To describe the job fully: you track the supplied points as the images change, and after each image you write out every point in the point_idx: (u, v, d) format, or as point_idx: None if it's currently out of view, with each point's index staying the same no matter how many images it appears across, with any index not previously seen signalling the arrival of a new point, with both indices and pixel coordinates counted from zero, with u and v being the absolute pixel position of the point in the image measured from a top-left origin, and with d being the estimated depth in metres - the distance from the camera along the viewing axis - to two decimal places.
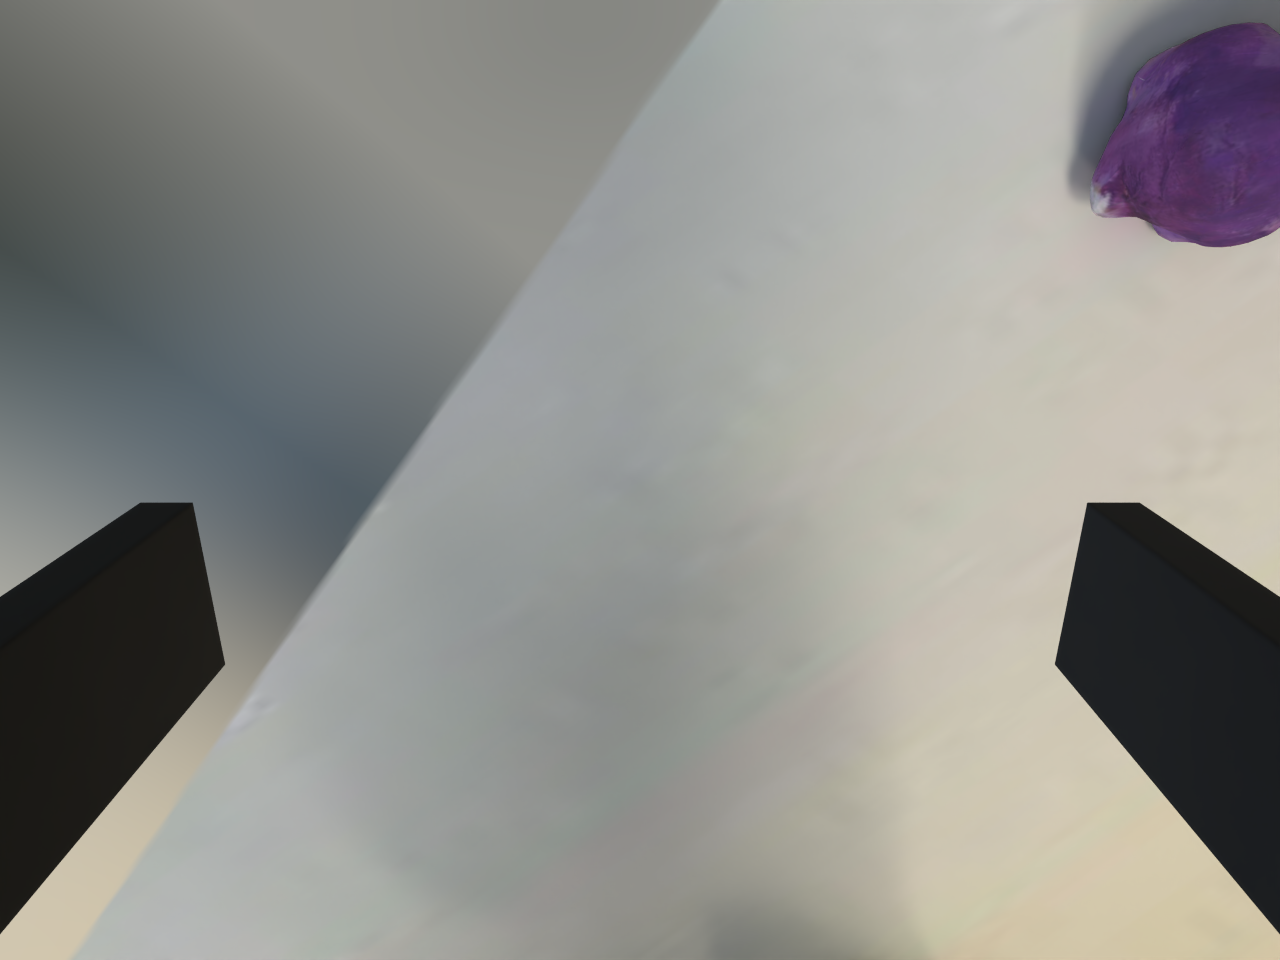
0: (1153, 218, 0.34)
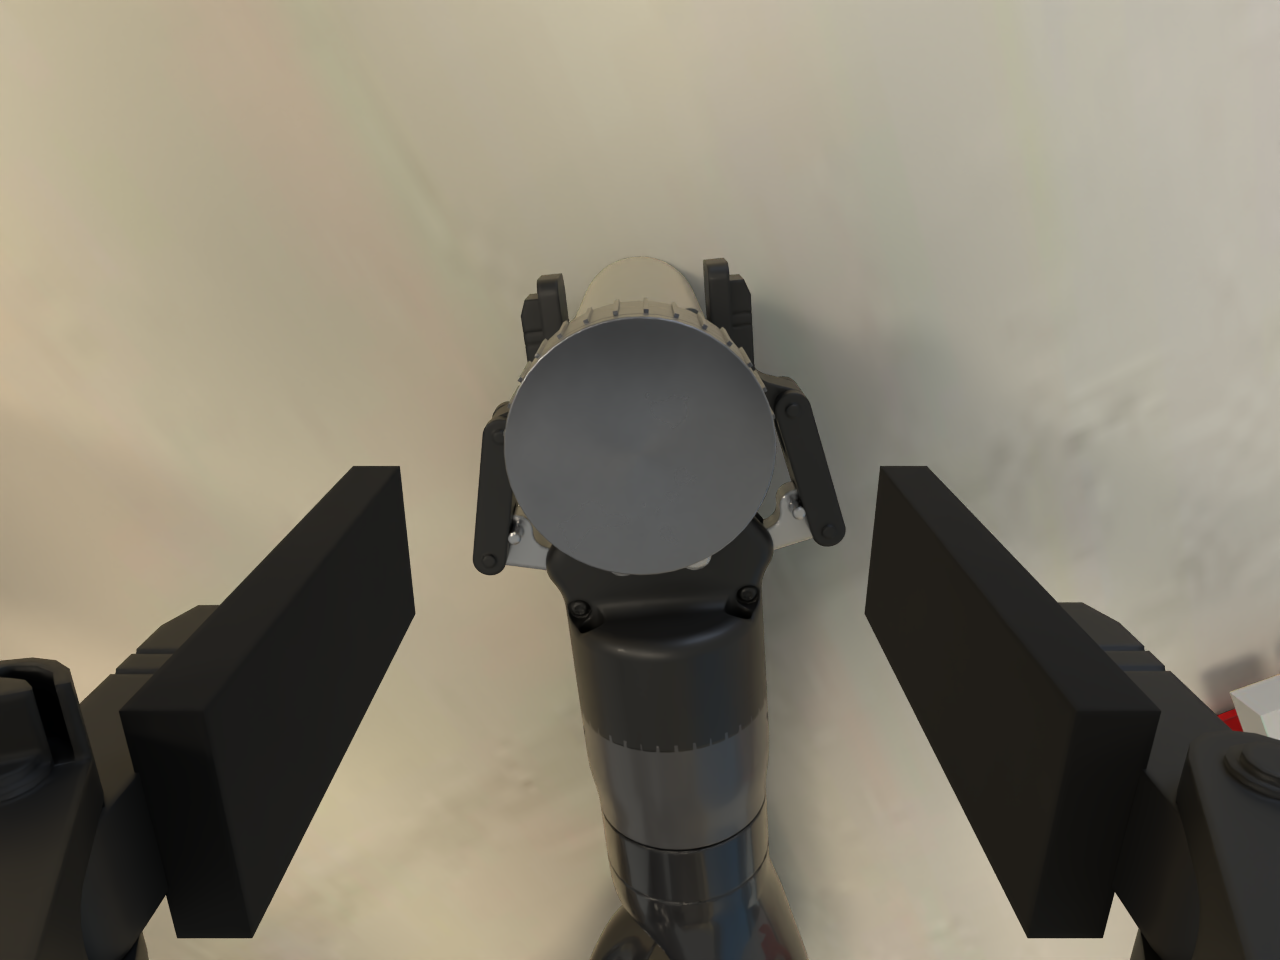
0: None
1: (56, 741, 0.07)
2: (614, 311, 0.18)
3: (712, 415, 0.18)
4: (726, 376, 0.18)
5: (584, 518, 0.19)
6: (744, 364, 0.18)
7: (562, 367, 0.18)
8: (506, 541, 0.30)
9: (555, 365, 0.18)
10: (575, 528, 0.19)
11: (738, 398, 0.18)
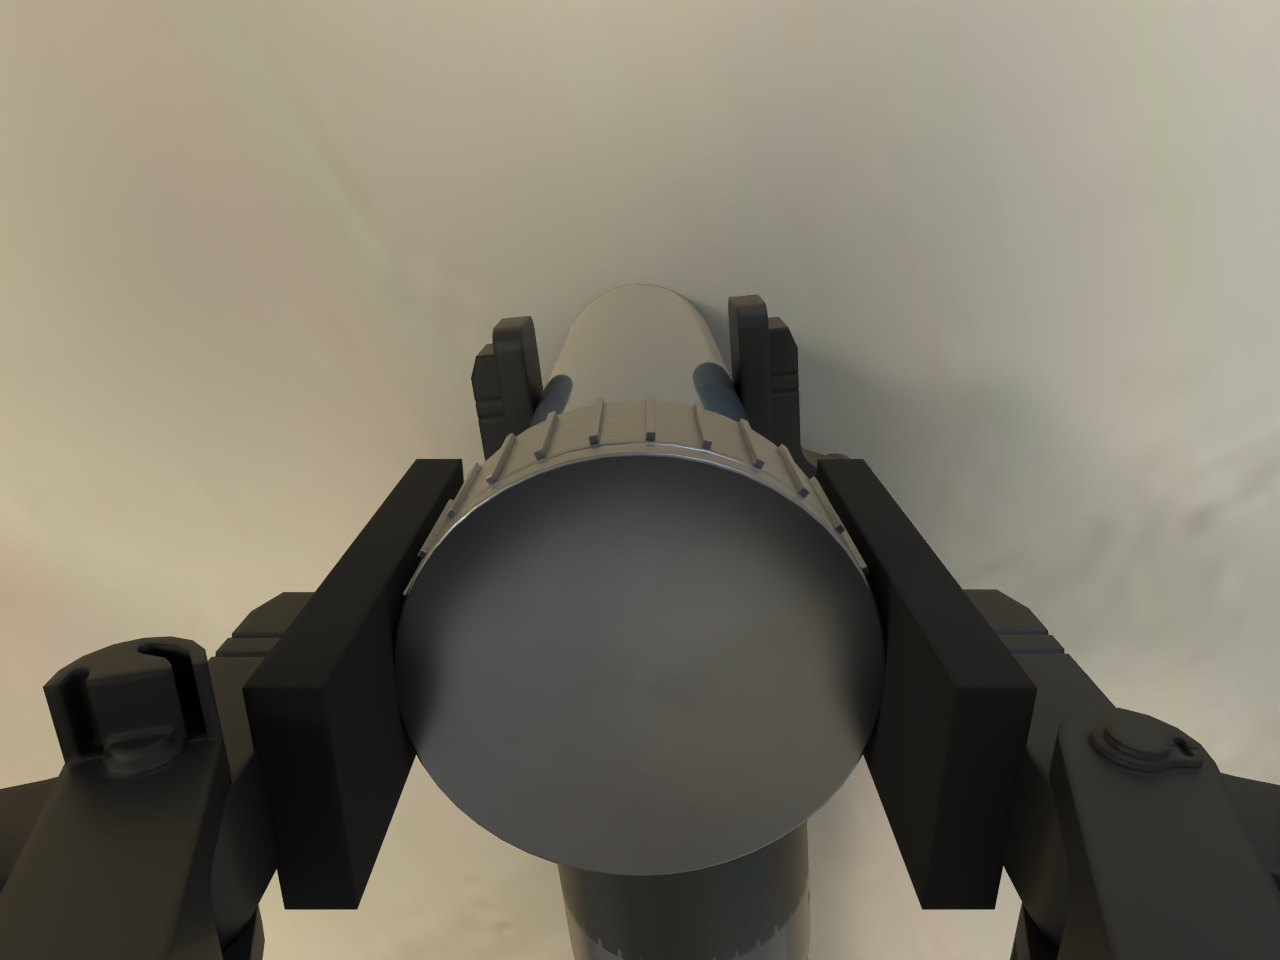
0: None
1: (189, 717, 0.08)
2: (591, 436, 0.10)
3: (772, 623, 0.10)
4: (800, 557, 0.10)
5: (541, 789, 0.11)
6: (834, 536, 0.09)
7: (494, 542, 0.09)
8: None
9: (481, 538, 0.09)
10: (525, 805, 0.11)
11: (821, 595, 0.10)
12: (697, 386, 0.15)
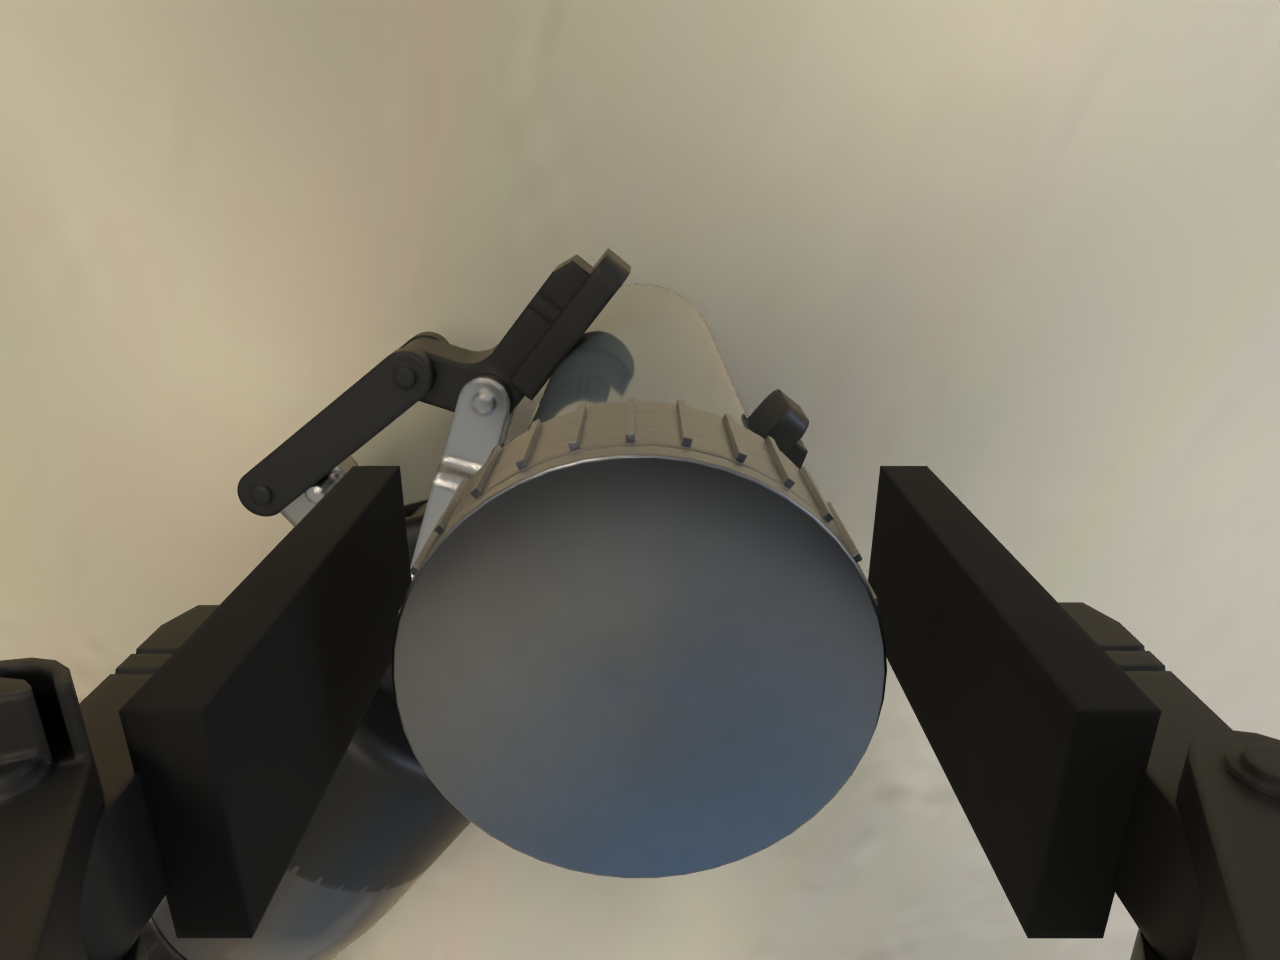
0: None
1: (56, 741, 0.07)
2: (436, 528, 0.10)
3: (691, 562, 0.10)
4: (659, 495, 0.09)
5: (646, 819, 0.11)
6: (669, 457, 0.09)
7: (429, 664, 0.10)
8: (303, 491, 0.20)
9: (418, 668, 0.10)
10: (646, 839, 0.11)
11: (706, 510, 0.09)
12: None
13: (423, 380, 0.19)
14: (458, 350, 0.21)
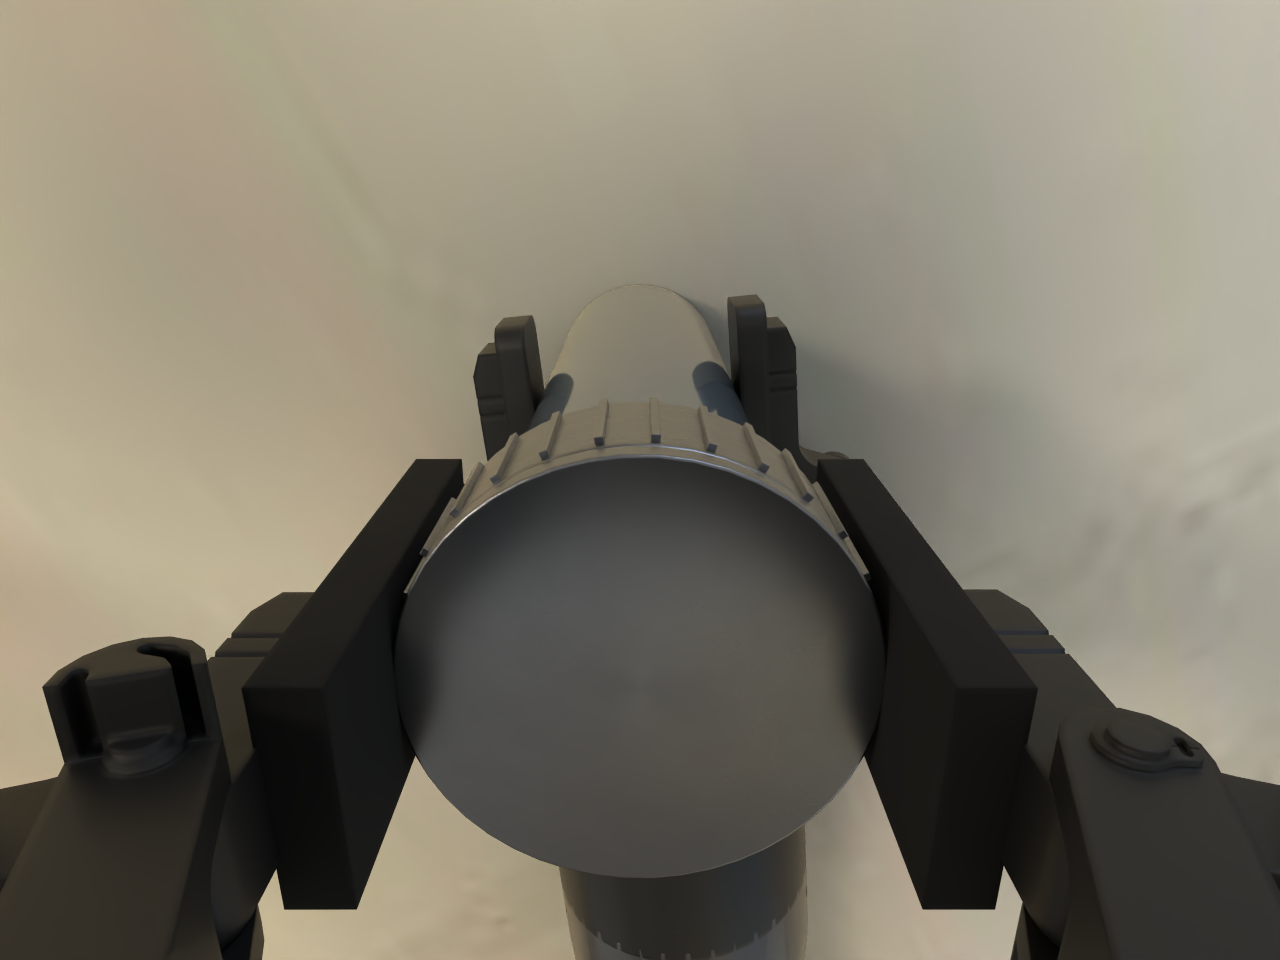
0: None
1: (188, 718, 0.08)
2: None
3: (574, 567, 0.10)
4: (499, 541, 0.09)
5: (754, 780, 0.11)
6: (476, 509, 0.09)
7: (479, 788, 0.11)
8: None
9: (476, 798, 0.11)
10: (771, 795, 0.11)
11: (542, 522, 0.09)
12: (696, 384, 0.15)
13: None
14: None
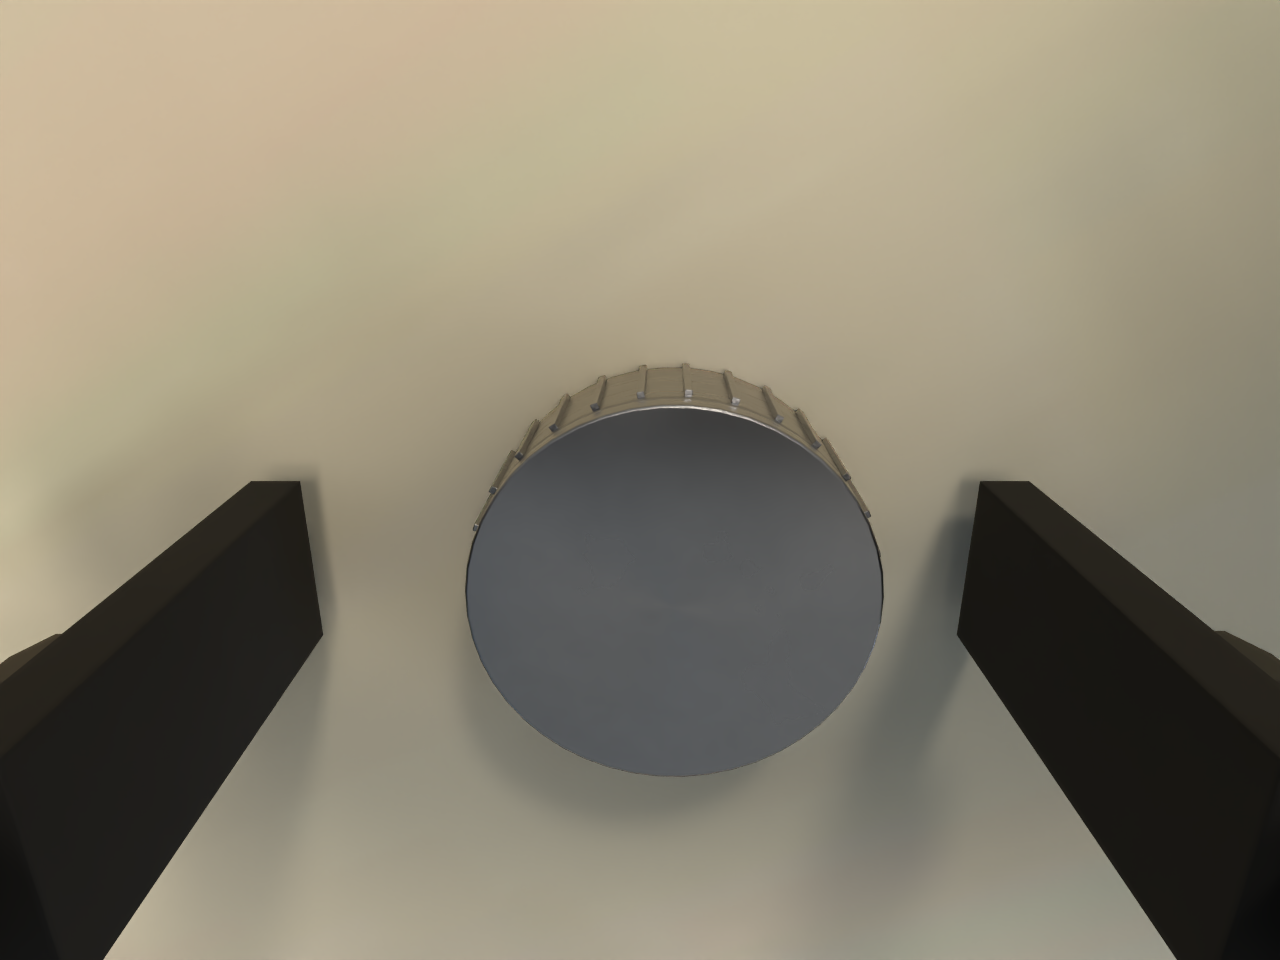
0: None
1: None
2: None
3: (619, 501, 0.11)
4: (557, 478, 0.11)
5: (770, 689, 0.12)
6: (539, 450, 0.11)
7: (536, 694, 0.13)
8: None
9: (532, 702, 0.13)
10: (784, 703, 0.12)
11: (593, 462, 0.11)
12: None
13: None
14: None
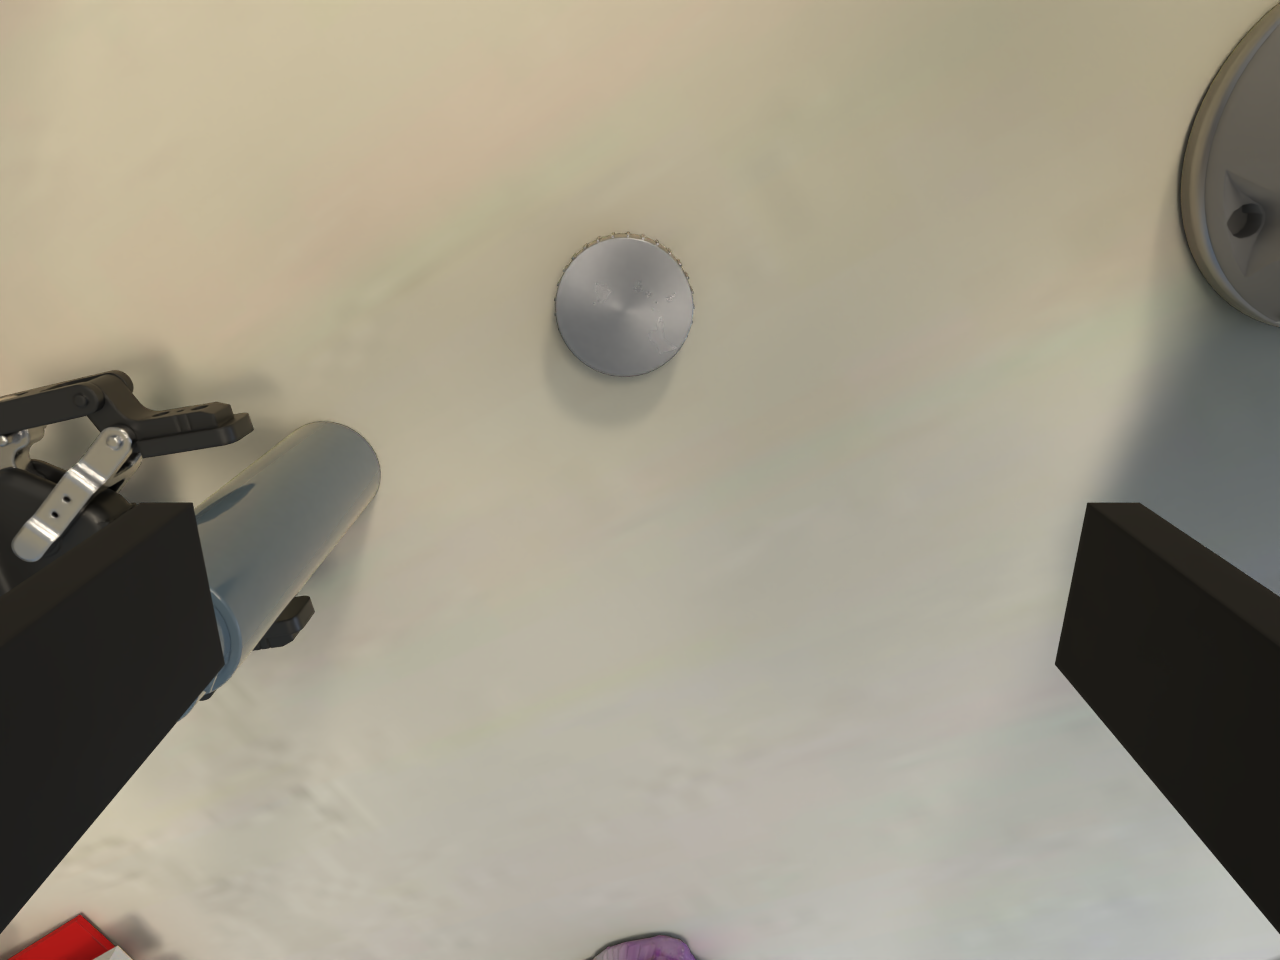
0: None
1: None
2: (555, 315, 0.37)
3: (606, 270, 0.36)
4: (586, 262, 0.35)
5: (657, 340, 0.37)
6: (580, 253, 0.35)
7: (578, 343, 0.37)
8: None
9: (577, 347, 0.37)
10: (662, 345, 0.37)
11: (598, 257, 0.35)
12: (282, 605, 0.30)
13: (90, 408, 0.32)
14: (131, 399, 0.33)
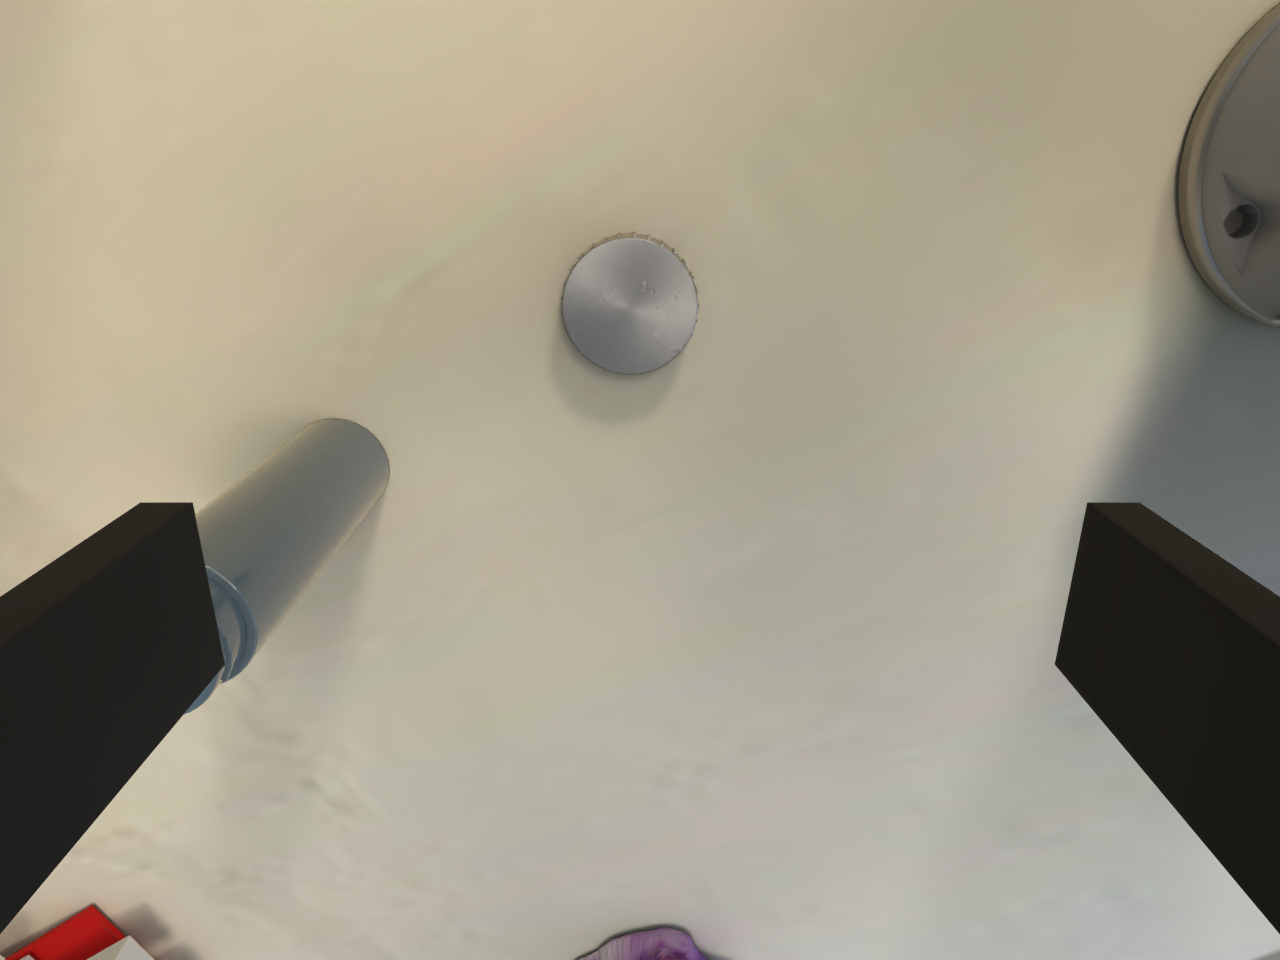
0: None
1: None
2: (562, 313, 0.37)
3: (612, 270, 0.36)
4: (592, 262, 0.36)
5: (662, 338, 0.37)
6: (587, 253, 0.36)
7: (584, 342, 0.37)
8: None
9: (583, 345, 0.37)
10: (667, 343, 0.37)
11: (604, 256, 0.36)
12: (295, 597, 0.31)
13: None
14: None
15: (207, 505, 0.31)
